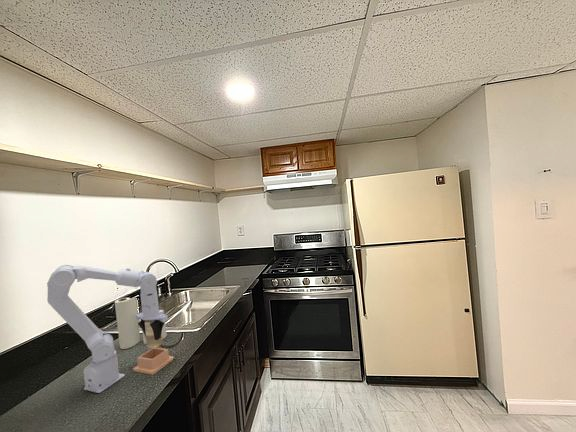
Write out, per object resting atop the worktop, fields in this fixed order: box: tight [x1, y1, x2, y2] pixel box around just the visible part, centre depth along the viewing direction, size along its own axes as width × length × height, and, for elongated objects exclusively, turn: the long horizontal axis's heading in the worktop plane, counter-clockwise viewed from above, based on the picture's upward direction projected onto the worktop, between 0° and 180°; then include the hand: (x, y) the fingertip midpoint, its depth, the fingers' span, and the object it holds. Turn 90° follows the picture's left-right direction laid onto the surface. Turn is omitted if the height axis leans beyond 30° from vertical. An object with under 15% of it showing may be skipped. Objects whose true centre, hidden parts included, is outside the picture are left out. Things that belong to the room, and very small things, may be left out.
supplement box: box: [141, 309, 168, 345], centre depth 124 cm, size 7×7×13 cm
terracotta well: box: [132, 347, 175, 376], centre depth 103 cm, size 10×10×4 cm
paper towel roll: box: [114, 296, 142, 350], centre depth 120 cm, size 7×6×21 cm
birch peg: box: [145, 320, 164, 349], centre depth 104 cm, size 4×4×10 cm
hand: (153, 338), depth 104 cm, fingers closed on birch peg, 4 cm apart
